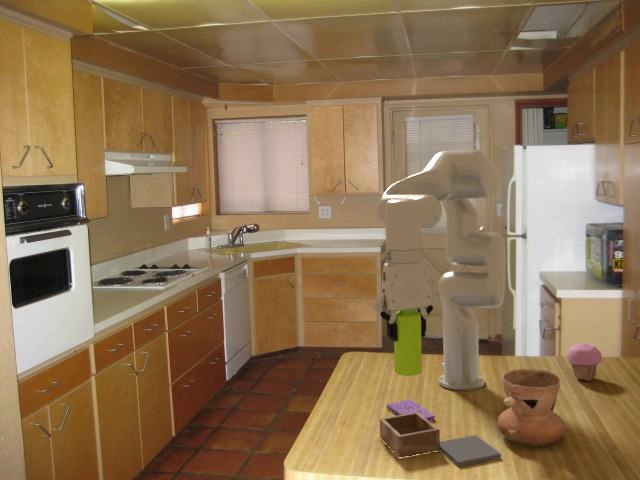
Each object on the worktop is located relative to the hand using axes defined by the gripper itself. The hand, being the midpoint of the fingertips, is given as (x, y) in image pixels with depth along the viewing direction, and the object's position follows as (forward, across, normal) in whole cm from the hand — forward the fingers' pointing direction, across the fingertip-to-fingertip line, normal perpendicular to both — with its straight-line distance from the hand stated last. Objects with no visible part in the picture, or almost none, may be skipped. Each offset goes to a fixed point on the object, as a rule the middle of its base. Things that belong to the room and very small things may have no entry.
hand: (407, 336), depth 144 cm
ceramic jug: (+25, +26, -8) cm, 37 cm away
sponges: (+26, +7, +15) cm, 31 cm away
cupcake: (+26, +61, +18) cm, 69 cm away
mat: (+25, +9, -9) cm, 28 cm away
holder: (+25, -1, -1) cm, 25 cm away
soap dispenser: (+8, 0, 0) cm, 8 cm away
